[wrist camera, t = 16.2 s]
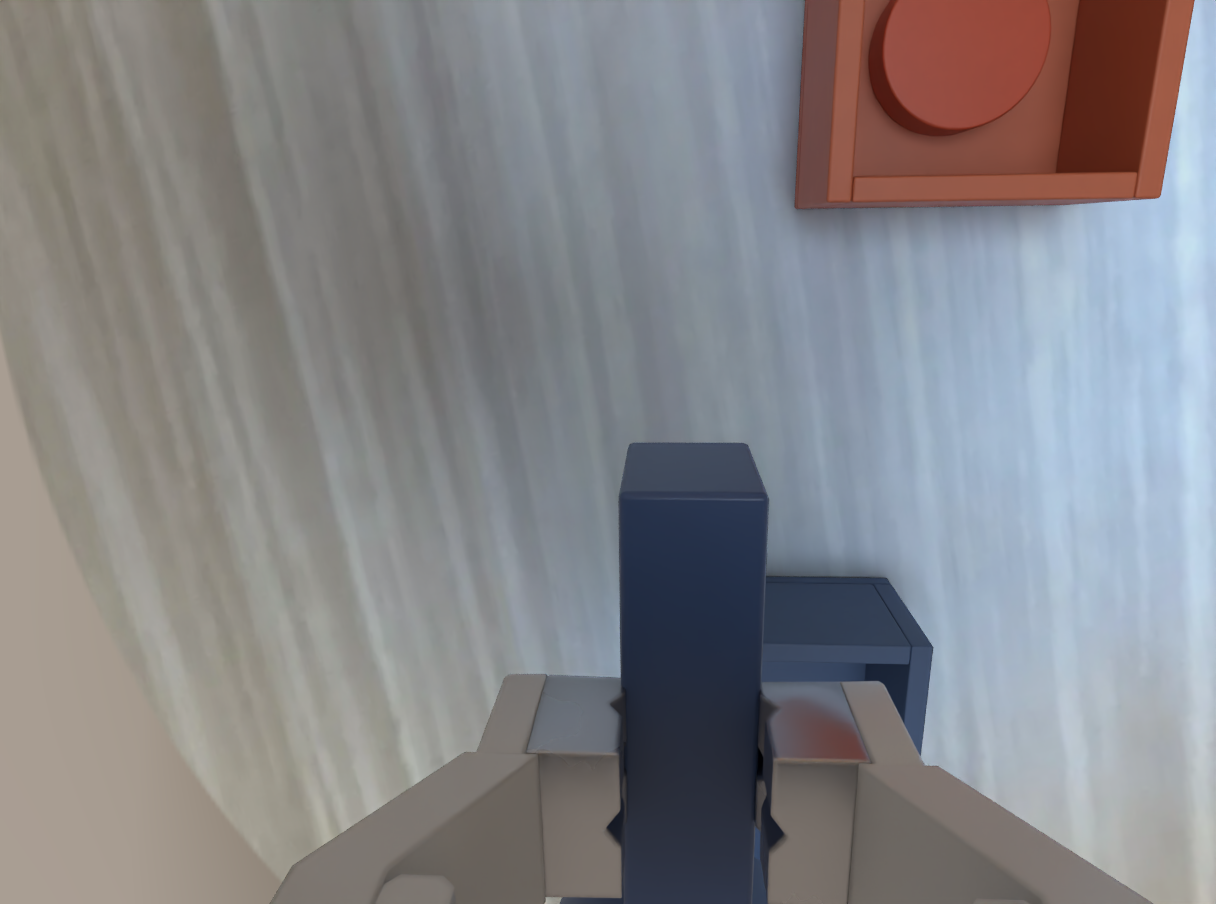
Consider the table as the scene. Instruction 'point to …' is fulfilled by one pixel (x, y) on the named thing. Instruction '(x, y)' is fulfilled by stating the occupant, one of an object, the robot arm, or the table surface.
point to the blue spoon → (691, 671)
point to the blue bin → (846, 641)
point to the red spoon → (956, 60)
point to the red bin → (1014, 143)
